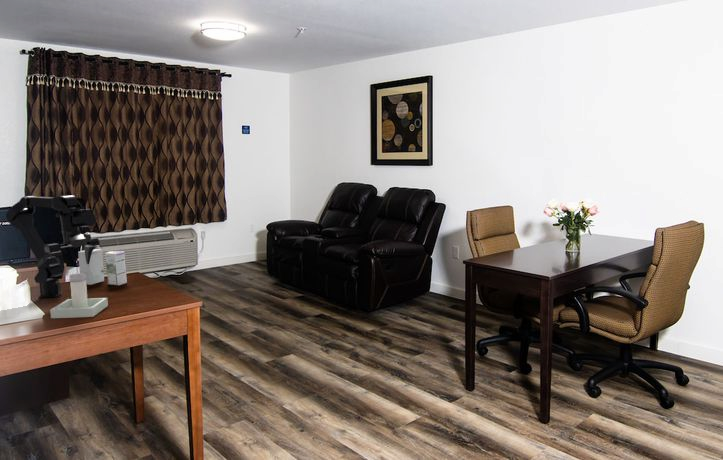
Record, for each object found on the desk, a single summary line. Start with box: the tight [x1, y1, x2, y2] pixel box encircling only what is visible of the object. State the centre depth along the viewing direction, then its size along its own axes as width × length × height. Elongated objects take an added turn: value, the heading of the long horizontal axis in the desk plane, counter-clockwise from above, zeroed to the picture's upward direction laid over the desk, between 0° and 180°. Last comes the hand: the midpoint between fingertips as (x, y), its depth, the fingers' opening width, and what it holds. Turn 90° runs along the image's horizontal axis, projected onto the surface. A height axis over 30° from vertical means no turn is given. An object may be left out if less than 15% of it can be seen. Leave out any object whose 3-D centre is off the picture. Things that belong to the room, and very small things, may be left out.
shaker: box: [69, 272, 88, 308], centre depth 188 cm, size 5×5×13 cm
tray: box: [49, 297, 109, 319], centre depth 189 cm, size 14×14×3 cm
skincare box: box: [77, 248, 105, 286], centre depth 234 cm, size 8×6×15 cm
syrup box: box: [105, 250, 128, 286], centre depth 231 cm, size 6×6×14 cm
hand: (75, 266), depth 207 cm, fingers open, 9 cm apart
